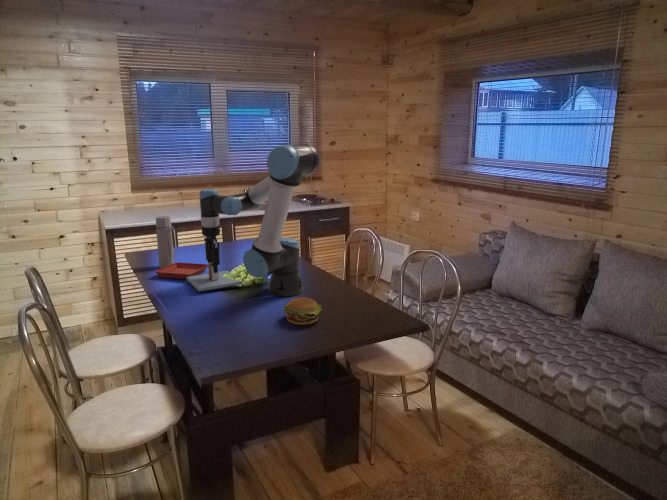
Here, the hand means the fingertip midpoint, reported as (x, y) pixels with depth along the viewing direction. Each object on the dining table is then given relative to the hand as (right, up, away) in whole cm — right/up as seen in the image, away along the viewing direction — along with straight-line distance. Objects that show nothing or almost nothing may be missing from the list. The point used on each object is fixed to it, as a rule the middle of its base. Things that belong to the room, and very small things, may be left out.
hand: (213, 278), depth 220 cm
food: (+41, -14, -35) cm, 55 cm away
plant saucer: (-18, +1, +14) cm, 23 cm away
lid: (0, -2, 0) cm, 2 cm away
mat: (0, -3, +1) cm, 4 cm away
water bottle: (-29, +4, +26) cm, 39 cm away
